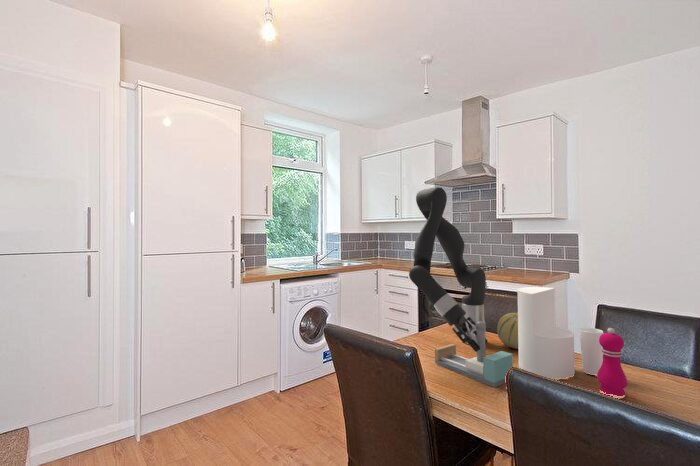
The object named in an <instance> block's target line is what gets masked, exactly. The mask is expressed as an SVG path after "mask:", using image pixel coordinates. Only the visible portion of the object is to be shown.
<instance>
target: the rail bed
mask: <svg viewBox="0 0 700 466" xmlns="http://www.w3.org/2000/svg"><path fill="white" fill-rule="evenodd" d="M468 359H469V358H466V357H464V356H461V355H459V354H457V344H455V343H450V344H446V345H443V346H440V347H436V348H434V362H435V363H434V364H436V365H439V366H441V367H443V368H446V369H448V370H451V371H453V372H455V373H458V374H461V375H463V376H466V377H468V378H471V379H472V380H476V381H477V382H480V383H483V384H485V385H487V386H490V387H492V388H497V387H500V386H501V385H504V384H506V383H505V376H506V373H507V371H508V370H509V369H510V368H511V367H513V368H514V366H513V365H514V364H513V354H512V353H510V352H507V351H503V350H500V351H497V352H495V353H492V354H489V355H488V354H487V355H485V357H483V367H484V373H481V372H478V371H475V370H473V369H470V368H467V367H465V360H468Z"/></svg>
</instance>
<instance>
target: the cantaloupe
mask: <svg viewBox="0 0 700 466" xmlns="http://www.w3.org/2000/svg"><path fill="white" fill-rule="evenodd" d="M496 332H497V335H498V338H499V340H500V341H501V342H502V343H503V344H504V345H505V346H506V347H508V348H511V349H515V350H518V312H508V313H506V314H504V315H503V316H502V317H501V318H500V319H499V320H498V322H497V326H496Z"/></svg>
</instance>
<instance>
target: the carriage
mask: <svg viewBox="0 0 700 466" xmlns="http://www.w3.org/2000/svg"><path fill="white" fill-rule="evenodd" d="M475 327H476V338H477V344H478V345H479V346H480V347H481V349H480V350H478V351H477V352H476V356H474V357H472V358H467V359H468V360H465V367H467V368H470V369H473V370H475V371H478V372H481V373H484V367H483V357H485V356H486V344H485V329H486V328H487V325H486V322H485V323H484V322H482V321H478V322H477V323H476V325H475Z"/></svg>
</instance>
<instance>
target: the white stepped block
mask: <svg viewBox="0 0 700 466" xmlns="http://www.w3.org/2000/svg"><path fill="white" fill-rule="evenodd" d="M517 313H518V349H517V350H518V368H519V369H520V368H521V369H524V370H527V371H530V372H533V373H536V374H539V375H542V376H545V377H549V378H552V377H553V378H552V379H555V378H566V377H570V376H573V375H574V374H576V373H575V370H576V369H575V368H576V367H575V334H574V332H573V331H571V330H570V329H567V328H564V327H561V326H556V322H557V321H556V316H557V315H556V288H555V287H543V286H524V287H519V288H517ZM521 369H520V370H521ZM554 381H558V380H557V379H555V380H554Z"/></svg>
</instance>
